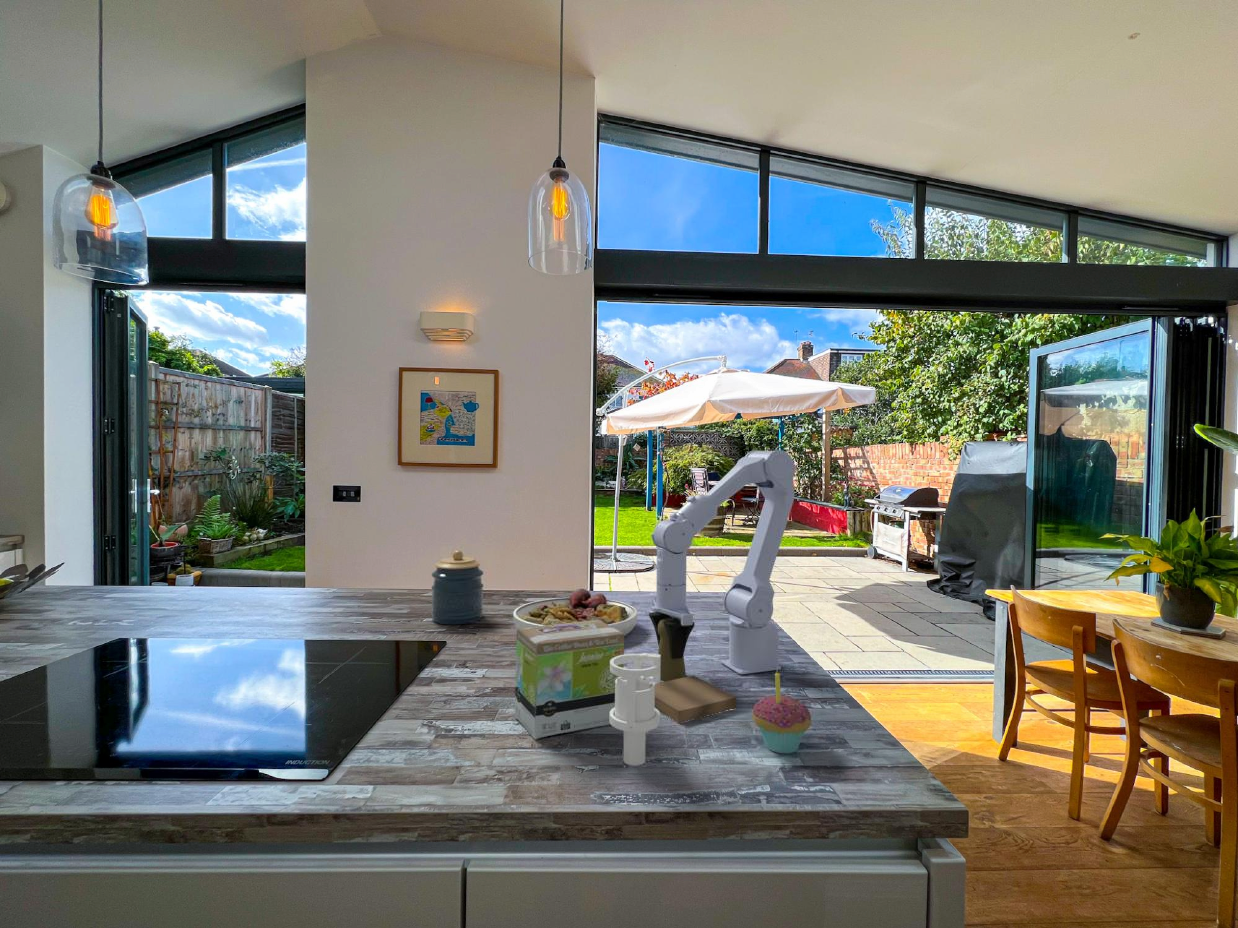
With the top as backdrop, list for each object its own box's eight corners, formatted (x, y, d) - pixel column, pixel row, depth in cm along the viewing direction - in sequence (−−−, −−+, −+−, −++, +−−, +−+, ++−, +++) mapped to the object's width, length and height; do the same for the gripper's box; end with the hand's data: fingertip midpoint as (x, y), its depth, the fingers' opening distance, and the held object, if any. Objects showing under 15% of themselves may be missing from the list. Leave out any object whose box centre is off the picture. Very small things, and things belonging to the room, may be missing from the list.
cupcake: (801, 765, 88) (802, 679, 88) (742, 749, 93) (743, 667, 92) (817, 741, 95) (818, 662, 95) (762, 728, 100) (763, 652, 100)
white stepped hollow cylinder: (656, 774, 85) (657, 663, 85) (604, 769, 86) (605, 659, 86) (662, 750, 92) (663, 647, 92) (614, 746, 93) (614, 644, 93)
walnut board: (693, 688, 118) (693, 675, 118) (736, 711, 108) (736, 697, 108) (638, 701, 112) (638, 686, 112) (678, 726, 102) (678, 711, 101)
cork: (684, 683, 119) (685, 624, 119) (652, 680, 121) (653, 622, 120) (687, 672, 125) (688, 616, 125) (657, 669, 127) (657, 614, 126)
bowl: (638, 651, 140) (638, 615, 140) (502, 649, 140) (502, 613, 140) (636, 616, 170) (636, 586, 170) (523, 615, 170) (524, 585, 170)
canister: (422, 623, 159) (422, 553, 159) (444, 611, 172) (445, 546, 172) (471, 626, 157) (471, 555, 157) (490, 613, 170) (491, 547, 170)
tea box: (535, 742, 95) (535, 643, 94) (513, 717, 103) (514, 626, 103) (624, 723, 101) (625, 631, 101) (597, 701, 110) (598, 616, 110)
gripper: (638, 577, 128) (637, 644, 128) (668, 592, 114) (667, 667, 115) (669, 575, 131) (669, 641, 131) (703, 589, 117) (702, 663, 117)
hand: (670, 653), depth 123 cm, fingers closed on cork, 5 cm apart
